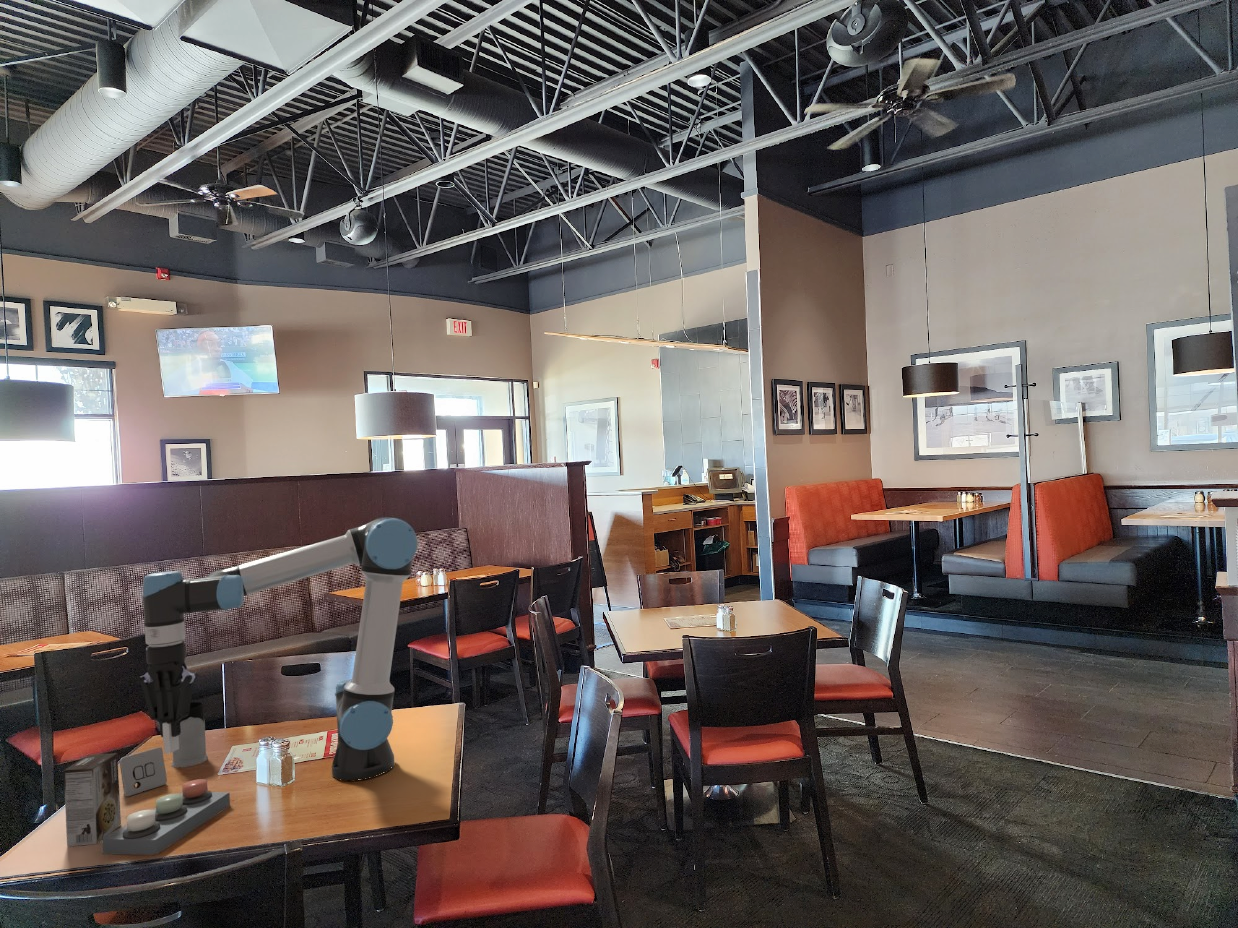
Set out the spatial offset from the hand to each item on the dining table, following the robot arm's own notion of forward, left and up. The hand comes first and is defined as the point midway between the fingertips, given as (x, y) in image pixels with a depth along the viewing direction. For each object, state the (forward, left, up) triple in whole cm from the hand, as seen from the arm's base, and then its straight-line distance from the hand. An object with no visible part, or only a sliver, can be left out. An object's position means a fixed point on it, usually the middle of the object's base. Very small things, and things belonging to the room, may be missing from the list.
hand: (171, 750), depth 167 cm
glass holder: (+28, -39, -17) cm, 51 cm away
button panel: (+1, +1, -16) cm, 16 cm away
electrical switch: (+25, -19, -17) cm, 35 cm away
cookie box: (+15, +5, -17) cm, 23 cm away
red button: (+1, -7, -12) cm, 14 cm away
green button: (+1, +1, -12) cm, 12 cm away
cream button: (+1, +9, -12) cm, 15 cm away
